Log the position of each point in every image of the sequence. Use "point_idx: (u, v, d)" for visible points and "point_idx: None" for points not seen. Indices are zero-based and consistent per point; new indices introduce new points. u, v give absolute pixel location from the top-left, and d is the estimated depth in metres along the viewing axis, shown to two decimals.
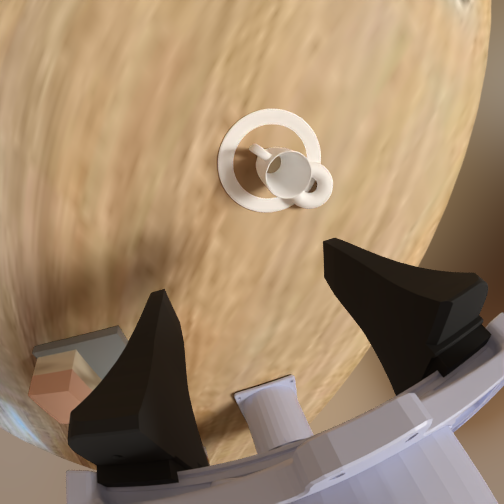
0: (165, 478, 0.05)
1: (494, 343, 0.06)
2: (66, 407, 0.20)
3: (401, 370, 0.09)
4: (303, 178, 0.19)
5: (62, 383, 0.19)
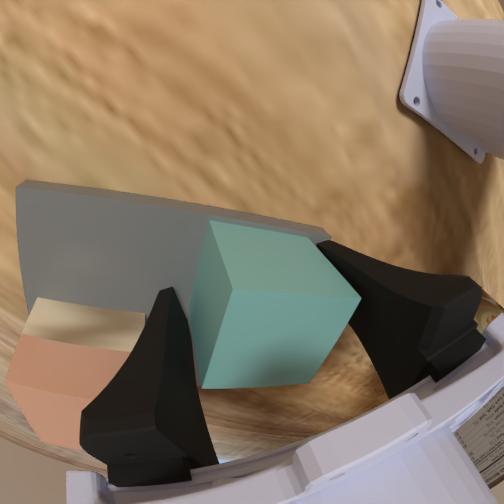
0: (165, 478, 0.05)
1: (494, 343, 0.06)
2: (74, 423, 0.08)
3: (394, 374, 0.08)
4: None
5: None
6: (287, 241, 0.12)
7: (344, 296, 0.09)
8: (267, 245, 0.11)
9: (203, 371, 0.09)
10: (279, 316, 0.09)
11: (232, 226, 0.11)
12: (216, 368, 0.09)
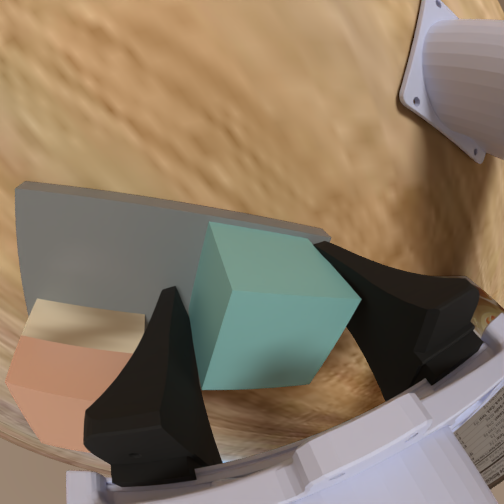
0: (165, 478, 0.05)
1: (494, 343, 0.06)
2: (74, 424, 0.08)
3: (390, 376, 0.08)
4: None
5: None
6: (287, 242, 0.12)
7: (344, 297, 0.09)
8: (266, 246, 0.11)
9: (203, 372, 0.09)
10: (278, 317, 0.08)
11: (232, 227, 0.11)
12: (216, 369, 0.09)
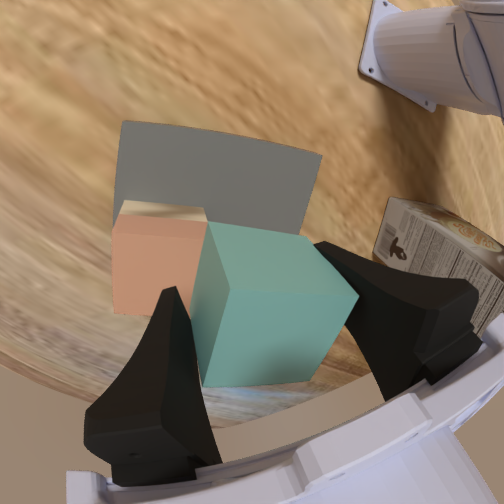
0: (165, 478, 0.05)
1: (494, 343, 0.06)
2: (154, 272, 0.16)
3: (389, 376, 0.08)
4: None
5: None
6: (286, 241, 0.12)
7: (341, 294, 0.09)
8: (265, 244, 0.11)
9: (204, 370, 0.10)
10: (276, 315, 0.09)
11: (230, 227, 0.12)
12: (216, 367, 0.09)
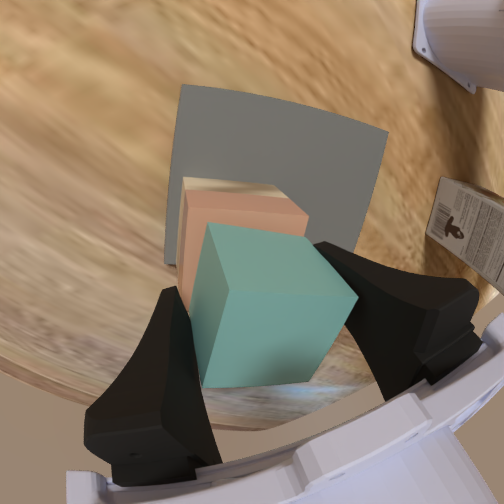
0: (165, 478, 0.05)
1: (494, 343, 0.06)
2: None
3: (389, 376, 0.08)
4: None
5: (184, 218, 0.13)
6: (285, 241, 0.12)
7: (341, 295, 0.09)
8: (264, 245, 0.11)
9: (203, 371, 0.10)
10: (276, 315, 0.09)
11: (230, 227, 0.12)
12: (215, 367, 0.09)
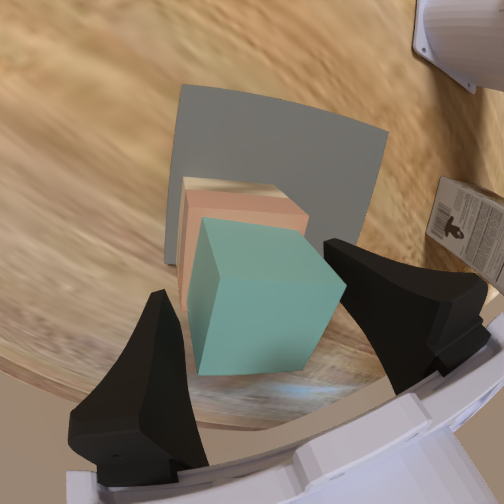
0: (165, 478, 0.05)
1: (494, 343, 0.06)
2: None
3: (401, 370, 0.09)
4: None
5: (185, 218, 0.13)
6: (277, 234, 0.12)
7: (329, 283, 0.10)
8: (256, 237, 0.11)
9: (198, 358, 0.10)
10: (265, 303, 0.09)
11: (224, 222, 0.12)
12: (210, 354, 0.10)
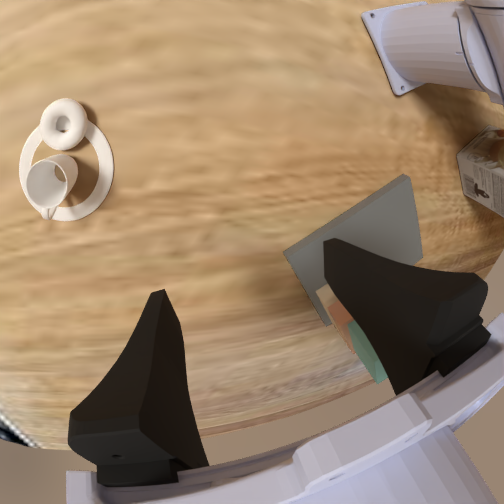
0: (165, 478, 0.05)
1: (494, 343, 0.06)
2: None
3: (401, 370, 0.09)
4: None
5: (337, 324, 0.24)
6: None
7: None
8: None
9: (375, 379, 0.22)
10: None
11: None
12: (379, 377, 0.21)
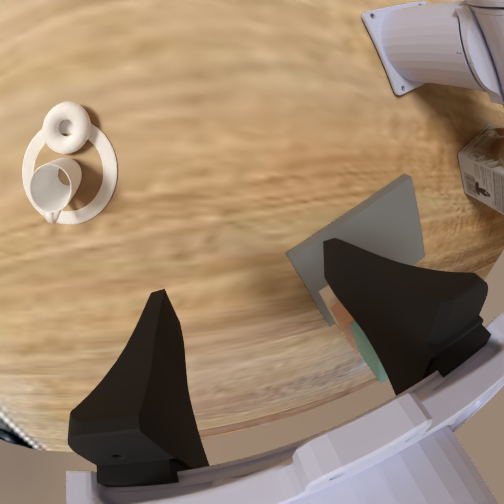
0: (165, 478, 0.05)
1: (494, 343, 0.06)
2: None
3: (401, 370, 0.09)
4: None
5: (340, 324, 0.24)
6: None
7: None
8: None
9: (378, 378, 0.22)
10: None
11: None
12: (382, 376, 0.21)
